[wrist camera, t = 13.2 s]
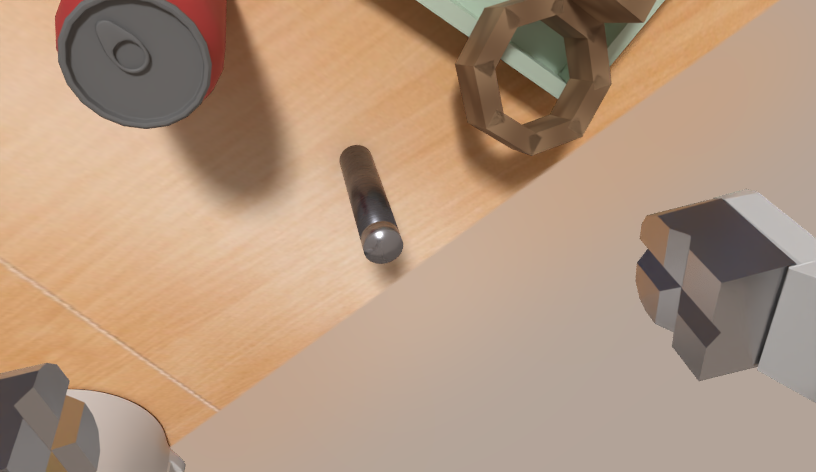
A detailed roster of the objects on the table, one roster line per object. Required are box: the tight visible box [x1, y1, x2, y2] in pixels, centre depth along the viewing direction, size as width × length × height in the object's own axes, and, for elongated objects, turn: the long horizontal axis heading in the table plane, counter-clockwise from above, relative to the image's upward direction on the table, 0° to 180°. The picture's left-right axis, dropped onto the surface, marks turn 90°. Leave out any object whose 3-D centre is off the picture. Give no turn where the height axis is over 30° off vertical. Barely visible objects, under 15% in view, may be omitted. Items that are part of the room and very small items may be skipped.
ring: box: [455, 0, 656, 156], centre depth 35 cm, size 8×13×6 cm, turn 145°
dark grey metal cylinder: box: [340, 145, 403, 264], centre depth 39 cm, size 2×2×10 cm
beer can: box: [55, 0, 227, 129], centre depth 29 cm, size 7×7×12 cm
